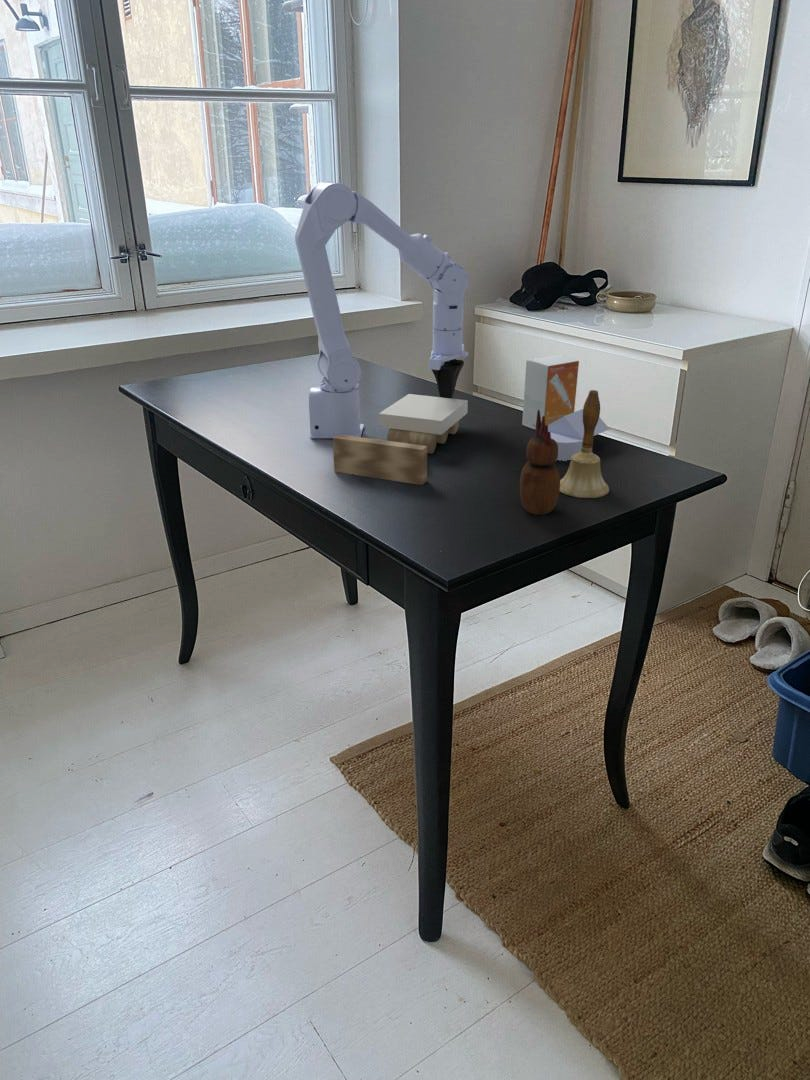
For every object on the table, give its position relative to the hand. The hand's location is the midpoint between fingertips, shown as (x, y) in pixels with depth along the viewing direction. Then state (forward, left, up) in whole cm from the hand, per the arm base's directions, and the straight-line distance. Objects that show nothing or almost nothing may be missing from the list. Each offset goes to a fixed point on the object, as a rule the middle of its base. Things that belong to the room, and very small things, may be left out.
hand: (446, 398), depth 160 cm
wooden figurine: (+14, -43, -5) cm, 46 cm away
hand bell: (+22, -34, -5) cm, 41 cm away
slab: (-4, -11, -1) cm, 12 cm away
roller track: (-5, -15, -5) cm, 17 cm away
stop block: (-11, -30, -5) cm, 32 cm away
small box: (+20, -1, -5) cm, 21 cm away
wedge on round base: (+22, -15, -5) cm, 27 cm away
